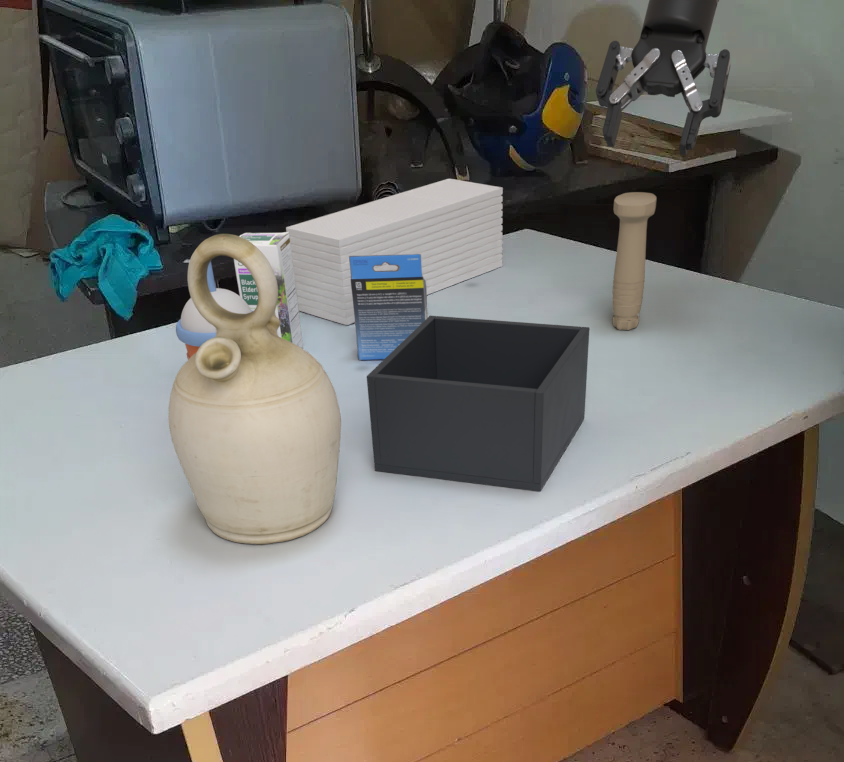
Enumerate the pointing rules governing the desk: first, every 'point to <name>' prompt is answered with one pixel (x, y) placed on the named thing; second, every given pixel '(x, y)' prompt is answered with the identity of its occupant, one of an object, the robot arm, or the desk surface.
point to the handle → (630, 256)
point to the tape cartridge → (386, 302)
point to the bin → (479, 401)
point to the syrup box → (281, 262)
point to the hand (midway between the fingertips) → (645, 147)
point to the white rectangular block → (398, 242)
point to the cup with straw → (198, 329)
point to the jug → (253, 414)
